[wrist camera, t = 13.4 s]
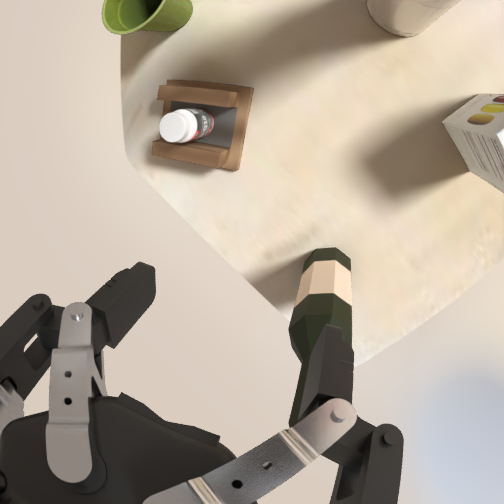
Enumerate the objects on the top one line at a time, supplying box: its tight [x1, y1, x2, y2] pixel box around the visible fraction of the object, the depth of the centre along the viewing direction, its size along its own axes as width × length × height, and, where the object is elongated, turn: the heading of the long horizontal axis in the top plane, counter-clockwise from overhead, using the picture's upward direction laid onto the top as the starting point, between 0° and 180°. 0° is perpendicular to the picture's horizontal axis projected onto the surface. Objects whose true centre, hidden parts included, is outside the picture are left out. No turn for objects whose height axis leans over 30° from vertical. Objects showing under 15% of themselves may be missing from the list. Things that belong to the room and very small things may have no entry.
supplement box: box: [442, 94, 504, 193], centre depth 23 cm, size 10×9×17 cm
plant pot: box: [102, 0, 193, 35], centre depth 28 cm, size 12×12×11 cm
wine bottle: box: [289, 248, 352, 428], centre depth 35 cm, size 8×8×30 cm
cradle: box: [152, 80, 254, 171], centre depth 39 cm, size 13×14×6 cm
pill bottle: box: [159, 108, 214, 143], centre depth 36 cm, size 5×5×8 cm
